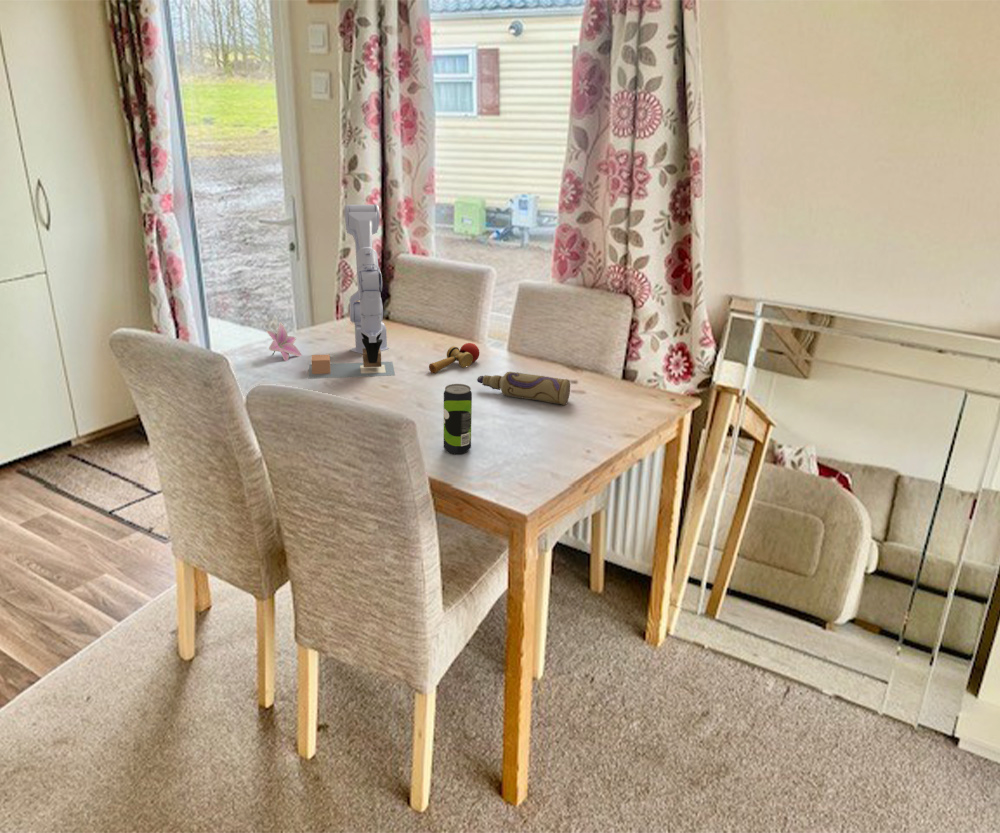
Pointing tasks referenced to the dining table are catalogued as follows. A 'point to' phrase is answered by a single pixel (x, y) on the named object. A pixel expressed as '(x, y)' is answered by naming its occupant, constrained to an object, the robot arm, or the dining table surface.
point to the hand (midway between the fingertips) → (372, 359)
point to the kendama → (457, 357)
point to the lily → (283, 342)
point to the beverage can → (457, 418)
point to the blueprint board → (355, 370)
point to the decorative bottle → (530, 386)
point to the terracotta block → (320, 364)
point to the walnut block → (366, 361)
